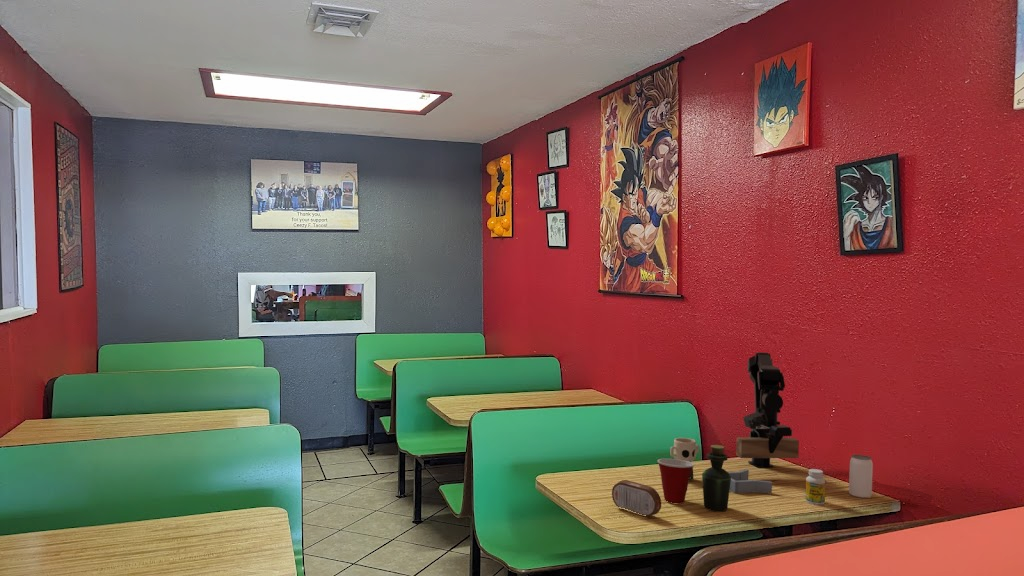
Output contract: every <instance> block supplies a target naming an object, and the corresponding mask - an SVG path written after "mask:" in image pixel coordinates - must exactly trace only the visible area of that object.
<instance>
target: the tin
mask: <svg viewBox="0 0 1024 576" xmlns="http://www.w3.org/2000/svg"><path fill="white" fill-rule="evenodd" d="M611 490H612V491H611V497H612V501H613V503H614V504H615V506H616V507H617V506H618V507H621V508H625V509H628V510H631V511H633V512H636V513H639V514H642V515H646V516H649V517H648V518H650V517H653V516H655V515H657V514H658V513H659V512H660V511H661V508H662V498H661V496H660V494H659V492H657V490H656V489H655V488H654V487H652V486H649V485H647V484H644V483H643V484H642V483H639V482H635V481H631V480H628V479H622V480H620V481H618V482H617V483H615V485H613V487H612V488H611ZM618 507H617V508H618Z"/></svg>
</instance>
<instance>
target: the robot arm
mask: <svg viewBox="0 0 1024 576" xmlns="http://www.w3.org/2000/svg"><path fill="white" fill-rule="evenodd" d="M746 368H747V372H748V373H749V374H748V375H749V376H748V377H749V379H750V380H751V381H752V382H751V383H753V387H754V390H753V391H754V395H753V396H754V412H753V413H750V414H748V415H745V416H743V417H742V418H743V422H744V426H745V427H746V428H749V429H750V431H749V435H748V438H769V451H770V453H773V452H774V451H775V449H776V447H777V445H778V444H779V442H780V440H781V439H782V438H784V437H792V436H793V429H792V428H791V427H790V426H788V425H784V424H781V421H779V420H778V419H779V417H778V414H779V413H781V409H782V408H783V406H784V400H783V398H782V397H781V395H780V394H779V393H780V392H779V391H781V392H784V390H785V388H786V382H785V377H784V375H783V372H781V370H780V368H779V367H777V366H775V365H774V364H773V358H771V353H769V352H758V351H757V352H755V354H754V355H753V356H751V357H749V358H748V360H747V367H746ZM747 462H748V464H750V465H752V466H754V467H756V468H770V467H771V468H772V467H774V464H771V458H751V460H748V461H747Z"/></svg>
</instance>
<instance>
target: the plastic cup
mask: <svg viewBox="0 0 1024 576" xmlns="http://www.w3.org/2000/svg"><path fill="white" fill-rule="evenodd" d="M657 463H658V467H659V472H660V479H661V485H662V486H661V487H662V491H663V498H664V501H665V500H666V501H668V502H672V503H681V504H684V503H685V499H686V495H687V492H688V486H689V481H690V474H691V471H692V468H693V469H694V466H695V463H693V461H691V462H689V461H684V460H678V459H675V458H659V459H657ZM666 501H665V502H666ZM668 502H667V503H668ZM683 502H684V503H683ZM672 503H671V504H672Z"/></svg>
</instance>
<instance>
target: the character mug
mask: <svg viewBox="0 0 1024 576" xmlns="http://www.w3.org/2000/svg"><path fill="white" fill-rule="evenodd" d="M699 449H700V447H699V444H697V442H696V440H695V439H693V438H689V437H677V438H676V437H675V438H674V440H673V446H670V450H669V451H670V452H669V453H670V454H669V455H670V457H673V459H678V460H684V461H689V462H694V461H695V460H696V458H697V455H699V452H700V450H699ZM691 480H694V467H693V468H692V471H691V474H690V478H689V481H691Z"/></svg>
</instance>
